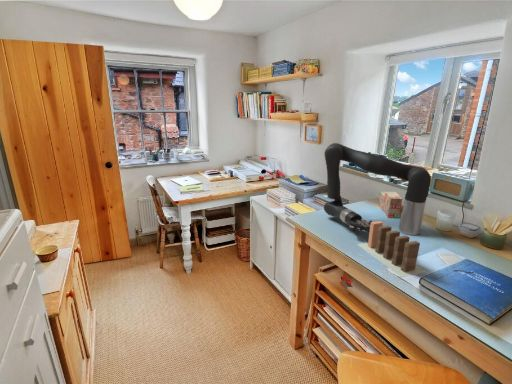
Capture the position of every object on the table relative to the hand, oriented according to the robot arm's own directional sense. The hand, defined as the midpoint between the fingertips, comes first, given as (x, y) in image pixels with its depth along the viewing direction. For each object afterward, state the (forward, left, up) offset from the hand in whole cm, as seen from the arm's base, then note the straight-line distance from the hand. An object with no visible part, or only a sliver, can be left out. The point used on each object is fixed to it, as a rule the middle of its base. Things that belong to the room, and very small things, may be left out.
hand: (372, 232), depth 130 cm
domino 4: (+21, +6, -6) cm, 23 cm away
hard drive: (+16, +28, -8) cm, 33 cm away
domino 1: (+6, +2, -6) cm, 9 cm away
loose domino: (+2, 0, -6) cm, 7 cm away
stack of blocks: (-42, +28, -7) cm, 51 cm away
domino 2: (+11, +3, -6) cm, 13 cm away
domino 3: (+16, +4, -6) cm, 18 cm away
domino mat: (+11, +3, -7) cm, 13 cm away
